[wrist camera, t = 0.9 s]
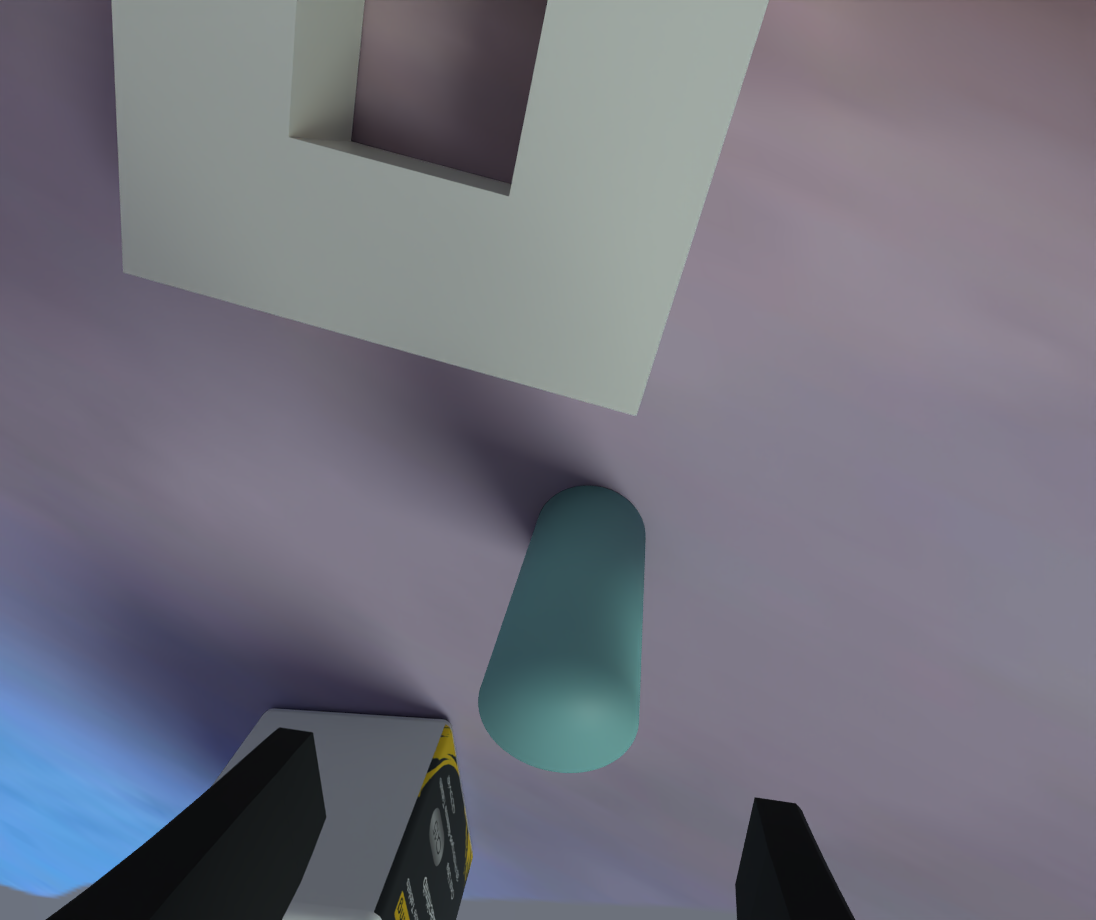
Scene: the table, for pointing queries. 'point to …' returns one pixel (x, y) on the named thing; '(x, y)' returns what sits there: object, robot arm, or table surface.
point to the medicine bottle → (380, 817)
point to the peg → (571, 637)
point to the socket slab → (431, 183)
